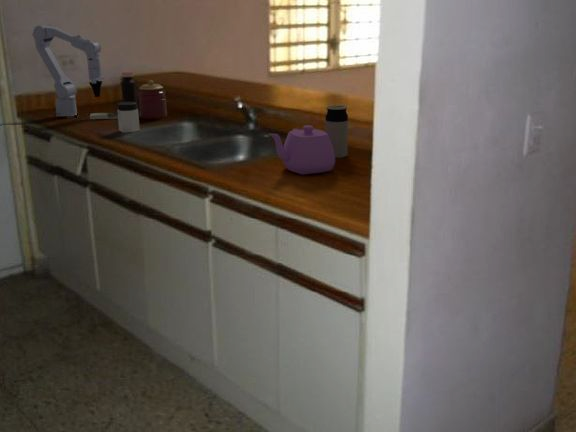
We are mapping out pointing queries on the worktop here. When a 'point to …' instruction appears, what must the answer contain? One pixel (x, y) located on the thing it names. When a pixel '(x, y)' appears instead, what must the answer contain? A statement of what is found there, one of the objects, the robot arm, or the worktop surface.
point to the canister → (152, 101)
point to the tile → (98, 115)
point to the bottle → (128, 88)
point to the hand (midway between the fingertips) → (97, 96)
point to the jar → (128, 117)
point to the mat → (112, 116)
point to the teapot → (306, 151)
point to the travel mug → (337, 129)
